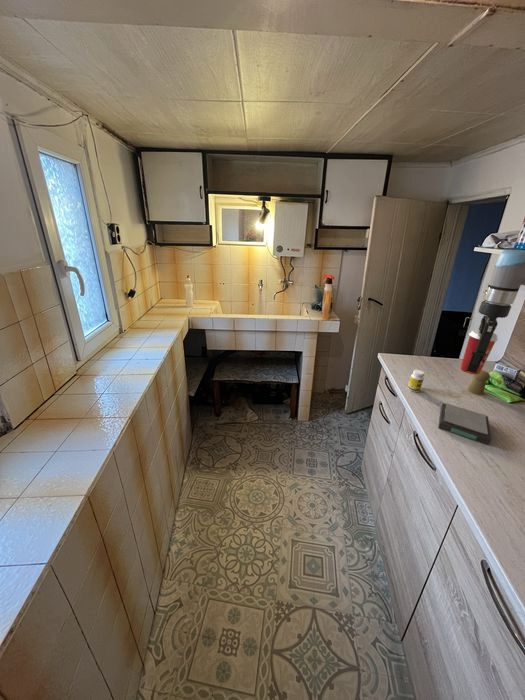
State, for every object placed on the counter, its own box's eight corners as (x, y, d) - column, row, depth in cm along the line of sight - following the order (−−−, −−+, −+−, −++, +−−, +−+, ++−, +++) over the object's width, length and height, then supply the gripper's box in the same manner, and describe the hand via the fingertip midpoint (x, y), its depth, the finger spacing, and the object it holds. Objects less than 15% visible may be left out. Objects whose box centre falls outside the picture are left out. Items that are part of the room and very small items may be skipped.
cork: (464, 395, 116) (474, 372, 111) (465, 389, 120) (474, 366, 116) (482, 401, 112) (493, 377, 108) (482, 394, 117) (492, 371, 112)
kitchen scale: (485, 422, 100) (488, 414, 99) (488, 445, 89) (492, 437, 88) (440, 408, 107) (443, 400, 106) (438, 428, 96) (441, 420, 95)
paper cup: (481, 378, 93) (497, 339, 87) (454, 370, 98) (468, 332, 92) (485, 370, 98) (500, 333, 92) (459, 363, 103) (472, 327, 97)
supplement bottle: (416, 393, 116) (421, 375, 112) (405, 388, 119) (410, 371, 116) (421, 390, 118) (427, 372, 115) (411, 385, 122) (416, 368, 118)
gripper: (481, 295, 97) (459, 355, 106) (483, 306, 82) (457, 375, 92) (508, 298, 93) (483, 360, 103) (516, 311, 78) (485, 382, 88)
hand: (471, 367), depth 97 cm, fingers closed on paper cup, 7 cm apart
